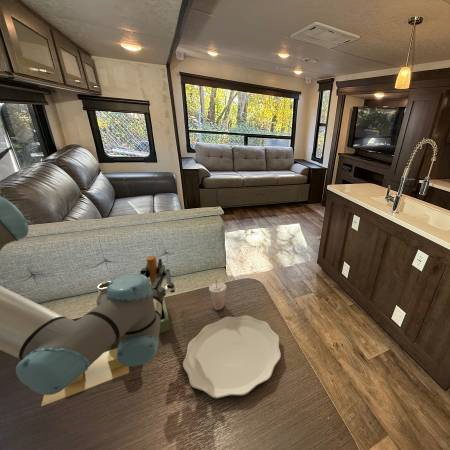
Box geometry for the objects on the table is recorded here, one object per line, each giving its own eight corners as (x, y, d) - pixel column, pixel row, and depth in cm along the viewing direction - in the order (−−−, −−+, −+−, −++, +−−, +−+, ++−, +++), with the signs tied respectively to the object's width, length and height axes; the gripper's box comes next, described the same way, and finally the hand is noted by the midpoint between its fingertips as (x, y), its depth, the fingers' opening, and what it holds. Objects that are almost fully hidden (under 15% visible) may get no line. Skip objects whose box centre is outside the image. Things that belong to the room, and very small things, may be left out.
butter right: (111, 359, 73) (108, 350, 72) (125, 354, 75) (123, 345, 73) (110, 370, 70) (107, 361, 68) (125, 364, 72) (123, 356, 70)
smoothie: (206, 308, 97) (204, 278, 92) (218, 299, 103) (217, 270, 97) (218, 314, 95) (217, 284, 89) (230, 305, 100) (229, 276, 95)
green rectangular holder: (154, 313, 92) (151, 300, 90) (166, 310, 95) (164, 297, 92) (157, 337, 83) (155, 323, 81) (170, 332, 85) (168, 319, 83)
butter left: (67, 374, 68) (63, 365, 67) (84, 368, 70) (80, 359, 68) (64, 386, 65) (60, 377, 63) (82, 379, 67) (79, 371, 65)
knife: (153, 295, 87) (145, 253, 81) (161, 293, 89) (154, 251, 82) (155, 310, 81) (147, 264, 75) (164, 307, 83) (156, 262, 76)
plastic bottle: (108, 329, 84) (94, 281, 76) (131, 324, 87) (120, 277, 79) (103, 344, 79) (88, 293, 71) (129, 338, 82) (116, 289, 74)
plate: (205, 427, 60) (205, 421, 60) (172, 345, 81) (172, 340, 80) (297, 364, 78) (298, 358, 77) (252, 309, 99) (252, 305, 98)
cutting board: (52, 373, 69) (50, 370, 68) (129, 347, 79) (128, 344, 78) (42, 410, 61) (40, 406, 60) (130, 376, 70) (129, 372, 70)
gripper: (113, 326, 64) (130, 275, 83) (180, 312, 70) (181, 268, 89) (107, 303, 61) (126, 256, 80) (177, 291, 67) (179, 250, 87)
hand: (155, 262), depth 85 cm, fingers closed on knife, 3 cm apart
